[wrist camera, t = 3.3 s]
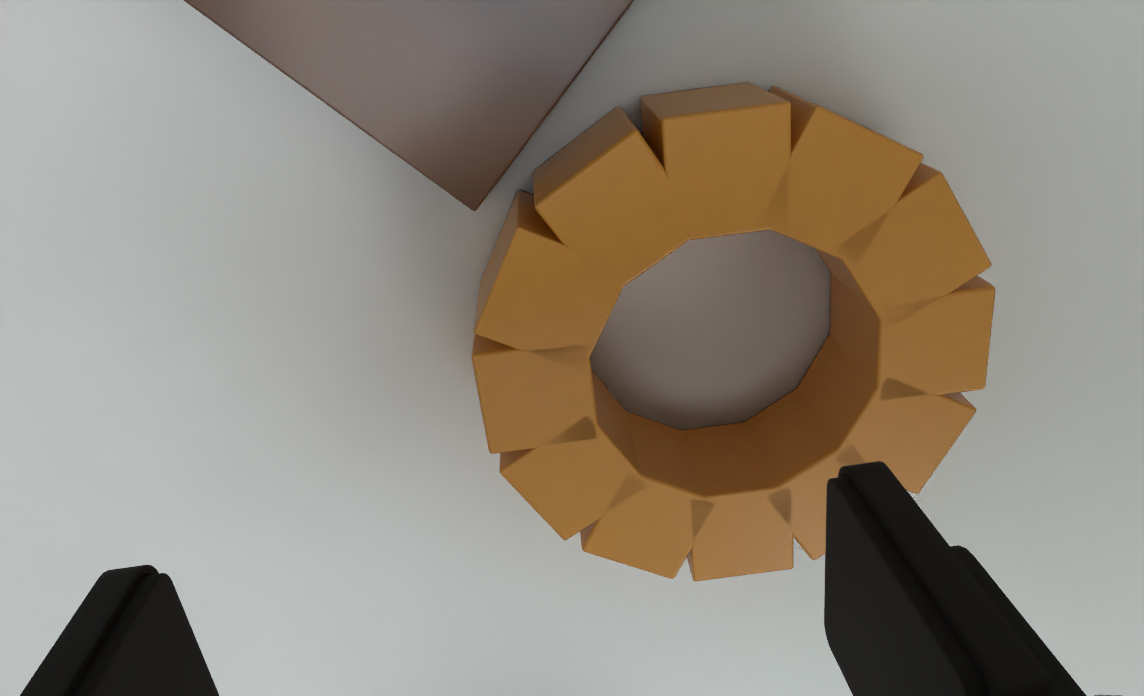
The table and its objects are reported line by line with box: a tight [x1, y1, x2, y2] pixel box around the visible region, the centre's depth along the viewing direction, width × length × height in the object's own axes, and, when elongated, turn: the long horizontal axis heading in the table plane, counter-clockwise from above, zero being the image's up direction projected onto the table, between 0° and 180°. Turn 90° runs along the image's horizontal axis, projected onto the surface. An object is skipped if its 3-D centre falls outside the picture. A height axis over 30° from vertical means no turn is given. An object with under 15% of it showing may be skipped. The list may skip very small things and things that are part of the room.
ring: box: [472, 82, 995, 581], centre depth 19 cm, size 11×11×3 cm
